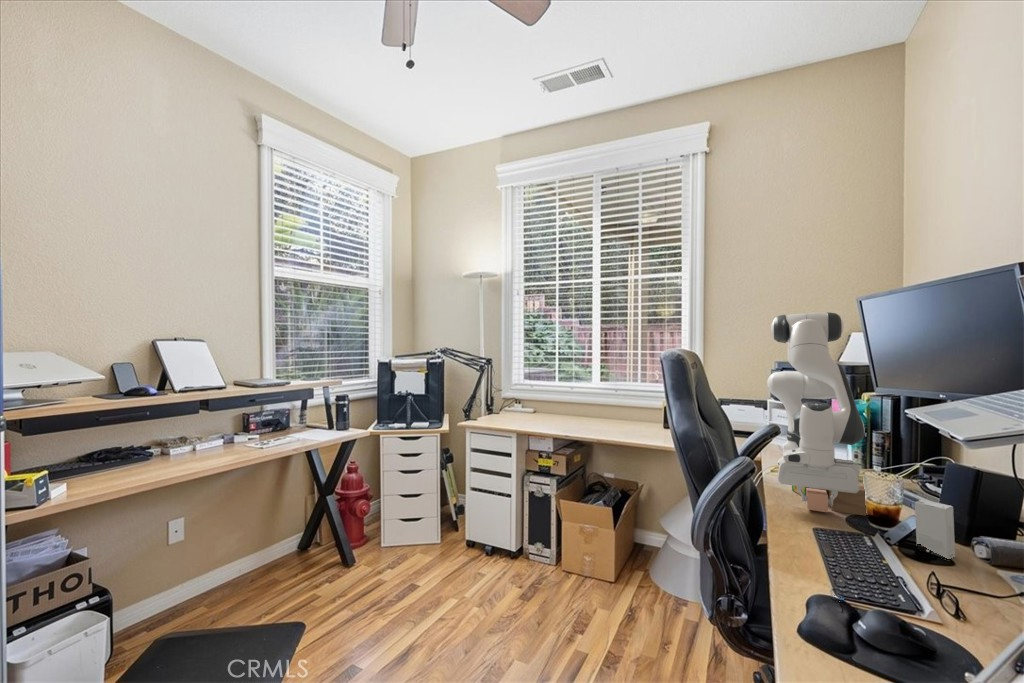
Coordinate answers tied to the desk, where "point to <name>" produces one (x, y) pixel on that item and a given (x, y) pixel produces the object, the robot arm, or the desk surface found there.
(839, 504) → the block
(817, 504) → the cube
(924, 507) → the skincare box
